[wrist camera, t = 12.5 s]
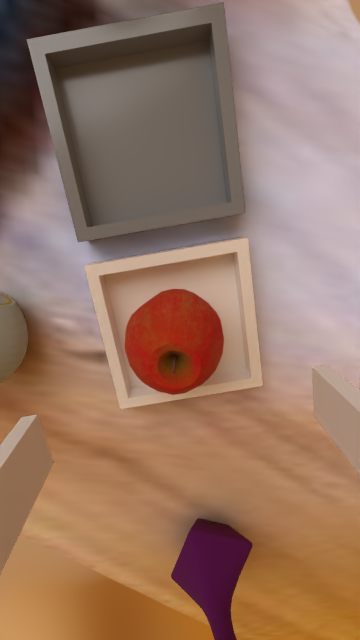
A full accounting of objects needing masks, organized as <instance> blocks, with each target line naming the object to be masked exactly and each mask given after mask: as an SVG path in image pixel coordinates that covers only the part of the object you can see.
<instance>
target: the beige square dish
mask: <svg viewBox="0 0 360 640" xmlns="http://www.w3.org/2000/svg"><path fill="white" fill-rule="evenodd" d="M84 268H85V272H86V276H87V279H88V283H89V287H90V291H91V295H92V299H93V303H94V307H95V311H96V315H97V319H98V323H99V327H100V331H101V335H102V339H103V343H104V347H105V351H106V355H107V359H108V363H109V366H110V370H111V374H112V378H113V382H114V386H115V390H116V394H117V398H118V402H119V406H120V409H125V408H131V407H137V406H143V405H149V404H156V403H162V402H168V401H174V400H180V399H186V398H192V397H198V396H204V395H211V394H217V393H223V392H229V391H235V390H241V389H247V388H253V387H259V386H263V382H262V372H261V362H260V352H259V343H258V333H257V323H256V313H255V303H254V294H253V284H252V274H251V264H250V254H249V245H248V238H245V237H238V238H232V239H227V240H221V241H215V242H209V243H203V244H198V245H192V246H186V247H180V248H175V249H169V250H163V251H157V252H152V253H146V254H140V255H134V256H128V257H123V258H117V259H111V260H105V261H100V262H94V263H91V264H88V265H86V266H84ZM170 289H185V290H188V291H190V292H193V293H195V294H196V295H198V296H199V297H201V298H202V299H204V300H205V301H207V302H208V303H209V304H210V305H211V307H212V308H213V309H214V310H215V311H216V312H217V314H218V316H219V318H220V320H221V324H222V330H223V336H224V346H223V354H222V357H221V359H220V362H219V364H218V366H217V368H216V371H215V372H214V373H213V374H212V375H211V376H210V378H209V379H208V380H206V381H205V382H204V383H203V384H202V385H200V386H198V387H196V388H194V389H192V390H190V391H188V392H186V393H183V394H176V395H171V394H167V393H163V392H159V391H156V390H155V389H153V388H151V387H149V386H147V385H146V384H144V383H143V382H142V381H141V380H140V379H139V378H138V377H137V376H136V375H135V373H134V371H133V370H132V368H131V367H130V365H129V362H128V358H127V355H126V351H125V332H126V327H127V323H128V321H129V319H130V317H131V315H132V314H133V313H134V312H135V311H136V310H137V309H138V308H139V307H140V306H142V305H143V304H144V303H146V302H147V301H149V300H150V299H151V298H153V297H154V296H156V295H157V294H159V293H160V292H161V291H166V290H170Z"/></svg>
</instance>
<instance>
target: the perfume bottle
mask: <svg viewBox="0 0 360 640" xmlns="http://www.w3.org/2000/svg"><path fill="white" fill-rule="evenodd" d="M251 548H252V542H250V541H249V540H247V539H246V538H245V537H243V536H242V535H241V534H239V533H238V532H237V531H235V530H234V529H233V528H231V527H230V526H228V525H225V524H221V523H216V522H212V521H207V520H203V519H197V520H196V522H195V523H194V525H193V526H192V528H191V529H190V531H189V533H188V536H187V538H186V541H185V543H184V545H183V548H182V550H181V553H180V555H179V557H178V560H177V562H176V565H175V567H174V569H173V572H172V574H171V577H172V579H173V580H174V581H175V582H176V583H177V584H178V585H179V586H180V587H181V588H182V589H183V590H184V591H185V592H186V593H187V594H188V595H189V596H190V597H191V598H192V599H193V600H194V601H195V602H196V603H197V604H198V605H199V606H200V607H201V608H202V610H203V611H204V613H205V615H206V616H207V619H208V621H209V624H210V626H211V629H212V633H213V636H214V639H215V640H237V639H236V637H235V634H234V630H233V625H232V621H231V602H232V596H233V593H234V590H235V587H236V584H237V581H238V578H239V576H240V573H241V571H242V569H243V566H244V564H245V562H246V560H247V557H248V555H249V553H250V550H251Z"/></svg>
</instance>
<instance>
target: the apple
mask: <svg viewBox="0 0 360 640" xmlns="http://www.w3.org/2000/svg"><path fill="white" fill-rule="evenodd" d="M223 346H224V336H223V330H222V324H221V320H220V318H219V316H218V314H217V312H216V311H215V310H214V309H213V308H212V307H211V305H210V304H209V303H208V302H207V301H205V300H204V299H202V298H201V297H199V296H198V295H196V294H195V293H193V292H190V291H188V290H185V289H170V290H166V291H161V292H160V293H159V294H157V295H156V296H154V297H153V298H151V299H150V300H149V301H147V302H146V303H144V304H143V305H142V306H140V307H139V308H138V309H137V310H136V311H135V312H134V313H133V314H132V315H131V317H130V319H129V321H128V323H127V327H126V332H125V351H126V355H127V358H128V362H129V365H130V367H131V368H132V370H133V371H134V373H135V375H136V376H137V377H138V378H139V379H140V380H141V381H142V382H143V383H144V384H146V385H147V386H149V387H151V388H153V389H155V390H156V391H159V392H163V393H167V394H171V395H176V394H183V393H186V392H188V391H190V390H192V389H194V388H196V387H198V386H200V385H202V384H203V383H204V382H205V381H206V380H208V379H209V378H210V376H211V375H212V374H213V373H214V372H215V371H216V368H217V366H218V364H219V362H220V359H221V357H222V354H223Z"/></svg>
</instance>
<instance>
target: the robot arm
mask: <svg viewBox="0 0 360 640" xmlns="http://www.w3.org/2000/svg"><path fill="white" fill-rule="evenodd" d="M312 376H313V398H314V417H315V418H316V420H317V421H318V422H319V423H320V425H321V426H322V427H323V429H324V430H325V431H326V432H327V434H328V435H329V436H330V437H331V439H332V440H333V441H334V442H335V444H336V445H337V446H338V448H339V449H340V450H341V451H342V453H343V454H344V455H345V456H346V458H347V459H348V460H349V461H350V463H351V464H352V465H353V467H354V468H355V469H356V470H357V472H358V473H359V474H360V390H358V389H357V388H356V387H355V386H354V385H352V384H351V383H350V382H349V381H348V380H346V379H345V378H344V377H343V376H342V375H340V374H339V373H338V372H337V371H336V370H335V369H333V368H332V367H331V366H330V365H329V364H326V365H321V366H315V367H312ZM53 463H54V460H53V458H52V455H51V452H50V449H49V446H48V443H47V440H46V438H45V435H44V432H43V429H42V426H41V423H40V420H39V418H38V415H31V416H25V417H21V418H20V420H19V421H18V422H17V424H16V425H15V426H14V428H13V429H12V430H11V432H10V433H9V434H8V436H7V437H6V438H5V439H4V441H3V442H2V443H1V445H0V574H1V572H2V570H3V568H4V566H5V564H6V561H7V559H8V557H9V555H10V553H11V551H12V549H13V547H14V545H15V542H16V540H17V538H18V536H19V534H20V532H21V530H22V528H23V526H24V524H25V522H26V519H27V517H28V515H29V513H30V511H31V509H32V507H33V505H34V503H35V501H36V498H37V496H38V494H39V492H40V490H41V488H42V486H43V484H44V482H45V480H46V477H47V475H48V473H49V471H50V469H51V467H52V465H53Z"/></svg>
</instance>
